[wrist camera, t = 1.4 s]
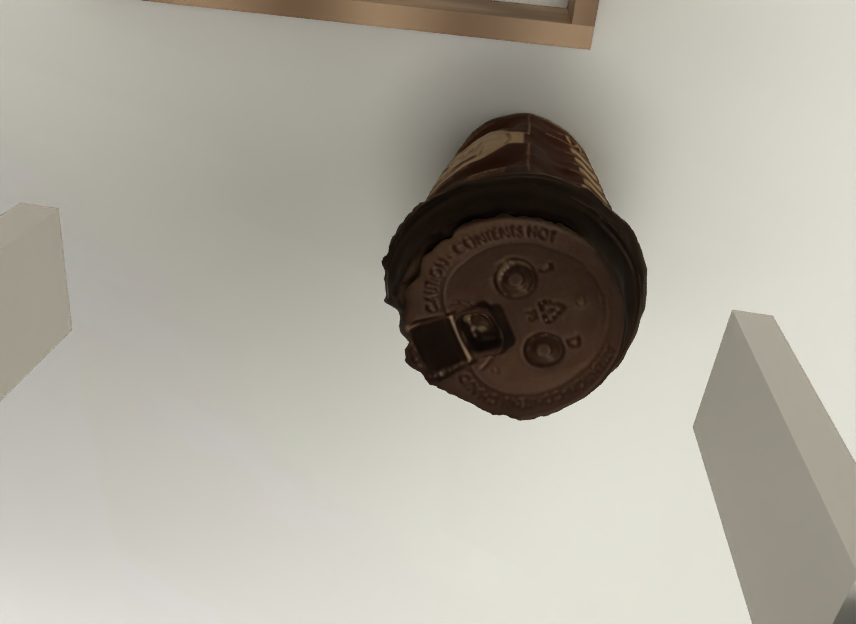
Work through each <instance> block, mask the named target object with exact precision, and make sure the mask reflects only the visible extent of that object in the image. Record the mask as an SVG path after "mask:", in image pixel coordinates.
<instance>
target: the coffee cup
mask: <svg viewBox="0 0 856 624" xmlns="http://www.w3.org/2000/svg"><path fill="white" fill-rule="evenodd" d="M382 266H383V267H384V269H385V277H384V280H385V290H386V297H385V299H384V301H385V303H387V304H389V305H391V306H392V307H394V308H396V309H397V310H398V312H399V314H400V324H399V328H400V332H401V333H402V335H403V336H404V337H405V338H406V339H407V340H408V341H409V344H408V346H407V347H406V349H405V355H406V358H405V361H406V363H407V364H408V365H409V366H410V367H412V368H414V369H415V370H417V371H419V372H421V373H422V374H423V375H424V377H425V379H426V381H427V382H428V383H429V384H430V385H434V386H437V388H439V389H442V390H445V391H446V392H447V393H449V394H452V395H455V396H457V397H458V398H461V399H463V400H465V401H468V402H470V403H472V404H474V405H475V406H477V407H478V408H480V409H482V410H484V411H486V412H489V413H491V414H492V415H507V416H509V417H510V418H514V419H517V420H520V421H521V420H531V419H535V418H537V417H540V416H548V415H550V414H552V413H555V412H558V411H560V410H562V409H563V408H565V407H567V406H569V405H571V404H573V403H575V402H577V401H579V400H581V399H583V398H585V397H586V396H587V395H589V394H590V393H591V392H592V391H594V390H595V389H596V388H597V387H598V386H599V385H601V384H602V383H603V381H604V380H605V379H606V378H607V376H608V375H609V374H610V373H611V372H613V371H614V370H615V369H616V368H617V367H618V366H619V364H620V363H621V362H622V360H623V359H624V356H625V354H626V352H627V350H628V348H629V347H630V345H631V343H632V342H633V339H634V338H635V336H636V333H637V330H638V327H639V323H640V319H641V317H642V314H643V312H644V310H645V304H646V295H647V267H646V264H645V261H644V257H643V253H642V250H641V248H640V245H639V243H638V240H637V237H636V235H635V233H634V231H633V230H632V229H631V227H630V226H629V225H628V224H627V223H626V222H625V221H624V220H623V219H621V218H620V217H619V216H618V215H617V214H616V213H615V212H614V211H612V208H611V206H610V204H609V202H608V201H607V199H606V198H605V195H604V193H603V190H602V188H601V186H600V184H599V181H598V178H597V176H596V175H595V173H594V171H593V169H592V167H591V165H590V162H589V161H588V158H587V156H586V154H585V152H584V150H583V149H582V148H581V146H580V145H579V144H578V143H577V142H576V141H575V139H574V138H573V137H572V136H571V135H569V134H568V133H567V132H566V131H565V130H563V129H562V128H561V127H559V126H557V125H555V124H554V123H552V122H550V121H549V120H546V119H543V118H541V117H538V116H535V115H533V114H514V115H509V116H505V117H501V118H496V119H493V120H491V121H488V122H486V123H485V124H483V125H482V126H480V127H479V128H478V129H476V130H475V131H474V132H473V133H472V134H471V135H470V137H469V138H468V139H467V140H466V141H465V143H464V144H463V145H462V147H461V148H460V149H459V151H458V152H457V154H456V156H455V158H454V159H453V160H452V161H451V162H450V164H449V165H448V166H447V168H446V169H445V170H444V171H443V173H442V174H441V176H440V177H439V179H438V181H437V183H436V184H435V186H434V187H433V189H432V190H431V192H430V194H429V196H428V197H427V199H426V201H425V202H421V203H419V205H418V206H416V207H415V208H414V209H413V211H412V212H411V213H410V214H408V215H407V217H406V218H405V220H404V222H403V223H401V224H400V225H399V227H398V229H397V231H396V234H395V235H394V236H393V237H392V239H391V242H390V245H389V252H388V254H387V255H386V256H385V257H384V258H383V260H382Z"/></svg>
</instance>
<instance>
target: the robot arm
mask: <svg viewBox="0 0 856 624" xmlns="http://www.w3.org/2000/svg"><path fill="white" fill-rule="evenodd" d="M71 330H72V325H71V316H70V307H69V298H68V290H67V281H66V272H65V263H64V254H63V245H62V236H61V228H60V219H59V210H58V208H52V207H45V206H38V205H32V204H25V203H19V204H18V205H16V206H15V207H13V208H11V209H10V210H8V211H7V212H5V213H4V214H2V215H1V216H0V401H1V400H2V399H3V398H4V397H5V396H6V395H7V394H8V393H9V392H10V391H11V390H12V389H13V388H14V387H15V386H16V385H17V384H18V383H19V382H20V381H21V380H22V379H23V378H24V377H25V376H26V375H27V374H28V373H29V372H30V371H31V370H32V369H33V368H34V367H35V366H36V365H37V364H38V363H39V362H40V361H41V360H42V359H43V358H44V357H45V356H46V355H47V354H48V353H49V352H50V351H51V350H52V349H53V348H54V347H55V346H56V345H57V344H58V343H59V342H60V341H61V340H62V339H63V338H64V337H65V336H66V335H67V334H68V333H69V332H70V331H71ZM693 429H694V432H695V436H696V439H697V442H698V446H699V449H700V452H701V456H702V459H703V462H704V466H705V469H706V472H707V476H708V479H709V482H710V485H711V489H712V492H713V495H714V499H715V502H716V505H717V509H718V512H719V515H720V519H721V522H722V525H723V529H724V532H725V535H726V538H727V542H728V545H729V548H730V552H731V555H732V558H733V562H734V565H735V568H736V572H737V575H738V578H739V581H740V585H741V588H742V591H743V595H744V598H745V601H746V605H747V608H748V611H749V615H750V618H751V621H752V624H856V463H855V461H854V459H853V457H852V456H851V454H850V452H849V450H848V448H847V447H846V445H845V443H844V441H843V440H842V438H841V436H840V434H839V432H838V431H837V429H836V427H835V425H834V424H833V422H832V420H831V418H830V416H829V415H828V413H827V411H826V409H825V408H824V406H823V404H822V402H821V400H820V399H819V397H818V395H817V393H816V392H815V390H814V388H813V386H812V384H811V383H810V381H809V379H808V377H807V375H806V374H805V372H804V370H803V368H802V367H801V365H800V363H799V361H798V359H797V358H796V356H795V354H794V352H793V351H792V349H791V347H790V345H789V343H788V342H787V340H786V338H785V336H784V335H783V333H782V331H781V329H780V327H779V326H778V324H777V322H776V320H775V319H774V317H773V316H771V315H764V314H757V313H751V312H744V311H737V310H732V312H731V315H730V318H729V321H728V324H727V327H726V330H725V333H724V336H723V339H722V342H721V345H720V348H719V351H718V354H717V357H716V359H715V362H714V365H713V368H712V371H711V374H710V377H709V380H708V383H707V386H706V389H705V392H704V395H703V398H702V401H701V404H700V407H699V410H698V413H697V416H696V419H695V422H694V425H693Z"/></svg>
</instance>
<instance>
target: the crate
mask: <svg viewBox="0 0 856 624" xmlns="http://www.w3.org/2000/svg"><path fill="white" fill-rule="evenodd" d="M143 1H152V2H161V3H171V4H180V5H189V6H198V7H207V8H216V9H225V10H234V11H243V12H252V13H261V14H270V15H279V16H288V17H297V18H306V19H316V20H325V21H334V22H343V23H352V24H361V25H370V26H379V27H388V28H397V29H406V30H415V31H424V32H433V33H442V34H451V35H461V36H470V37H479V38H488V39H497V40H506V41H515V42H524V43H533V44H542V45H551V46H560V47H569V48H578V49H587V50H590V48H591V43H592V37H593V31H594V26H595V20H596V14H597V9H598V3H599V0H569V1H568V7H567V9H566V8H557V7H548V6H539V5H529V4H520V3H511V2H501V1H492V0H143Z"/></svg>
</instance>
